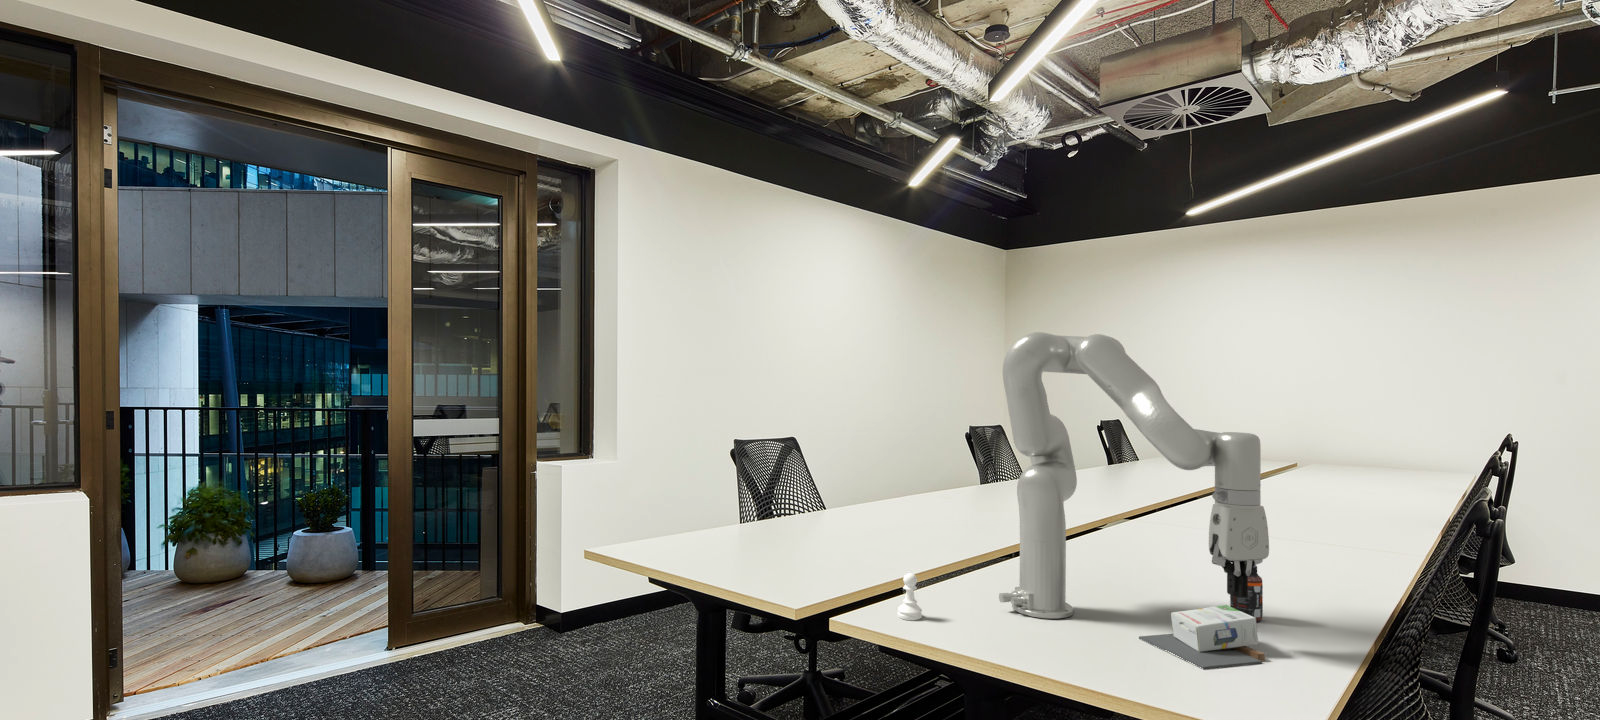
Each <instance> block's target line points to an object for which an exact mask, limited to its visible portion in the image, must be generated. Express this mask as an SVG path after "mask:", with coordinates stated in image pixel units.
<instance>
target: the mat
mask: <svg viewBox="0 0 1600 720" xmlns="http://www.w3.org/2000/svg"><path fill="white" fill-rule="evenodd" d="M1138 639H1139V640H1141V639H1142V640H1141V641H1143V642H1145V641H1146V643H1147V642H1148V644H1149V643H1150V644H1149V645H1151V644H1152V645H1151V646H1153V645H1155V646H1157V647H1156V648H1158V647H1159V648H1158V649H1160V648H1161V649H1160V650H1162V649H1164V650H1167V651H1169V652H1171V653H1173V654H1175V655H1177V656H1179V657H1181V658H1183V659H1185V660H1187V661H1189V662H1191V663H1193V664H1195V665H1197V666H1199V667H1198V668H1200V667H1201V668H1200V669H1202V668H1203V669H1202V670H1207V669H1206V668H1211V669H1218V668H1219V667H1221V668H1228V667H1229V668H1231V667H1240V666H1248V665H1260V664H1262V663H1263V661H1261V660H1258V659H1256V658H1253V657H1251V656H1249V655H1246V654H1244V653H1242V652H1239V651H1237V650H1235V649H1232V648H1226V649H1219V650H1211V651H1203V652H1198V651H1197V650H1195V649H1193V648H1192V647H1190V646H1189V645H1187V644H1185V643H1184V642H1182V641H1180V640H1179V639H1177V638H1176V637H1174V636H1173V633H1162V634H1152V635H1143V636H1141V635H1140V636H1138ZM1155 646H1154V647H1155ZM1164 650H1163V651H1164ZM1179 657H1178V658H1179ZM1181 658H1180V659H1181ZM1183 659H1182V660H1183ZM1185 660H1184V661H1185ZM1187 661H1186V662H1187ZM1189 662H1188V663H1189ZM1191 663H1190V664H1191ZM1193 664H1192V665H1193ZM1195 665H1194V666H1195ZM1197 666H1196V667H1197Z"/></svg>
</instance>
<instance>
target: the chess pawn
mask: <svg viewBox="0 0 1600 720" xmlns="http://www.w3.org/2000/svg"><path fill="white" fill-rule="evenodd" d="M917 578H918V577H917V576H916V574H914V573H911V572H909V573H906V574H905V575H904V576H903V578H902V579H903V584H904V586H903V587H902V588H903V590H905V591H906V592H905V598H904V599H903V600H902V602H903V603H902V604H900V605H899V606H898V608H897V618H899V619H901V620H905V621H918V620H921V619H922V618H923V613H922V611H923V609H922V608H921V607H920V606H919V604H918V600H917V599H915V592H914V591H917V589H918V587H917V586H916V585H917V582H918V579H917Z"/></svg>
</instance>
